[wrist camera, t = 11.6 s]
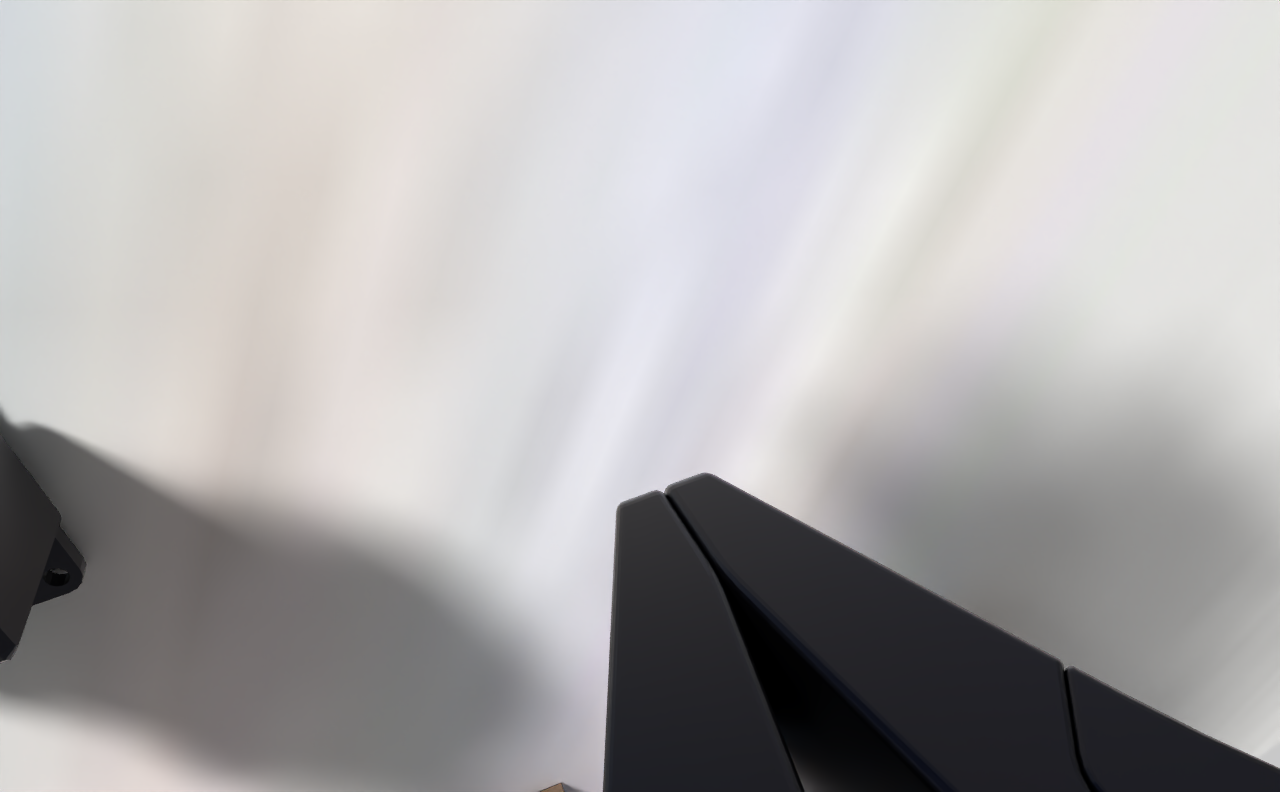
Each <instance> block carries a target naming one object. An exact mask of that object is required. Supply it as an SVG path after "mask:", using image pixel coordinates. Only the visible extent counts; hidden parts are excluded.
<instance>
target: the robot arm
mask: <svg viewBox="0 0 1280 792" xmlns="http://www.w3.org/2000/svg"><path fill="white" fill-rule="evenodd" d="M60 521H61V515H60V513H59V512H58V511H57V509H56V508H55V507H54V505H53V504H52V503H51V501H50V500H49V499H48V497H47V496H46V495H45V493H44V492H43V491H42V489H41V488H40V487H39V485H38V484H37V483H36V481H35V480H34V479H33V477H32V476H31V475H30V473H29V472H28V471H27V469H26V468H25V467H24V465H23V464H22V463H21V461H20V460H19V459H18V457H17V456H16V455H15V453H14V452H13V451H12V449H11V448H10V447H9V445H8V444H7V443H6V441H5V440H4V439H3V437H2V436H1V435H0V663H3V662H5V661H8V660H11V658H12V657H13V655H14V654H15V651H16V649H17V647H18V645H19V642H20V639H21V636H22V633H23V631H24V628H25V625H26V622H27V619H28V616H29V613H30V610H31V607H32V606H33V605H35V604H38V603H41V602H44V601H47V600H50V599H53V598H56V597H58V596H61V595H64V594H67V593H70V592H72V591H73V590H75V589H77V588H78V587H79V586H80V584H81V583H82V580H83V577H84V573H85V569H86V563H85V560H84V558H83V556H82V555H81V554H80V552H79V551H78V550H77V549H76V547H75V546H74V545H73V543H72V542H71V541H70V539H69V538H68V537H67V535H66V534H65V533H64V531H63V530H62V529H61V527H60V526H59V524H60ZM55 568H59V569H63V570H65V571H67V572H68V573H67V574H61V575H60V574H55V573H52V572H51V571H50V569H55ZM603 792H1280V768H1278V767H1275V766H1274V765H1271V764H1269V763H1267V762H1265V761H1263V760H1260V759H1258V758H1256V757H1254V756H1251V755H1249V754H1247V753H1245V752H1243V751H1240V750H1238V749H1236V748H1234V747H1232V746H1229V745H1227V744H1225V743H1223V742H1221V741H1218V740H1216V739H1214V738H1212V737H1210V736H1207V735H1205V734H1203V733H1201V732H1199V731H1197V730H1195V729H1193V728H1191V727H1189V726H1188V725H1186V724H1184V723H1182V722H1180V721H1178V720H1176V719H1174V718H1172V717H1170V716H1168V715H1166V714H1164V713H1162V712H1160V711H1158V710H1156V709H1154V708H1152V707H1150V706H1148V705H1146V704H1144V703H1142V702H1140V701H1138V700H1136V699H1134V698H1132V697H1130V696H1128V695H1126V694H1124V693H1122V692H1120V691H1118V690H1117V689H1115V688H1113V687H1111V686H1109V685H1107V684H1105V683H1103V682H1102V681H1100V680H1098V679H1096V678H1094V677H1092V676H1090V675H1088V674H1087V673H1085V672H1083V671H1081V670H1079V669H1077V668H1075V667H1072V666H1070V667H1068V668H1066V669H1065V672H1064V666H1063V663H1062V661H1061V660H1059V659H1058V658H1056V657H1054V656H1052V655H1050V654H1048V653H1046V652H1045V651H1043V650H1041V649H1039V648H1037V647H1035V646H1033V645H1031V644H1030V643H1028V642H1026V641H1024V640H1022V639H1020V638H1018V637H1016V636H1015V635H1013V634H1011V633H1009V632H1007V631H1005V630H1003V629H1001V628H1000V627H998V626H996V625H994V624H992V623H990V622H988V621H986V620H985V619H983V618H981V617H979V616H977V615H975V614H973V613H971V612H970V611H968V610H966V609H964V608H962V607H960V606H958V605H956V604H955V603H953V602H951V601H949V600H947V599H945V598H943V597H941V596H940V595H938V594H936V593H934V592H932V591H930V590H928V589H926V588H925V587H923V586H921V585H919V584H917V583H915V582H913V581H912V580H910V579H908V578H906V577H904V576H902V575H900V574H898V573H897V572H895V571H893V570H891V569H889V568H887V567H885V566H883V565H882V564H880V563H878V562H876V561H874V560H872V559H870V558H868V557H867V556H865V555H863V554H861V553H859V552H857V551H855V550H853V549H852V548H850V547H848V546H846V545H844V544H842V543H840V542H838V541H837V540H835V539H833V538H831V537H829V536H827V535H825V534H823V533H822V532H820V531H818V530H816V529H814V528H812V527H810V526H808V525H807V524H805V523H803V522H801V521H799V520H797V519H795V518H794V517H792V516H790V515H788V514H786V513H784V512H782V511H780V510H779V509H777V508H775V507H773V506H771V505H769V504H767V503H765V502H764V501H762V500H760V499H758V498H756V497H754V496H752V495H750V494H749V493H747V492H745V491H743V490H741V489H739V488H737V487H735V486H734V485H732V484H730V483H728V482H726V481H724V480H722V479H720V478H719V477H717V476H715V475H713V474H709V473H701V474H698V475H695V476H692V477H690V478H687V479H684V480H681V481H679V482H676V483H673V484H670V485H669V486H668V487H667V488H666V489H665V492H664V493H663V492H661V491H657V490H655V491H651V492H649V493H646V494H643V495H640V496H638V497H635V498H632V499H629V500H627V501H624V502H622V503H620V505H619V506H618V508H617V511H616V528H615V549H614V570H613V591H612V612H611V633H610V654H609V675H608V696H607V717H606V738H605V759H604V780H603Z"/></svg>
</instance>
